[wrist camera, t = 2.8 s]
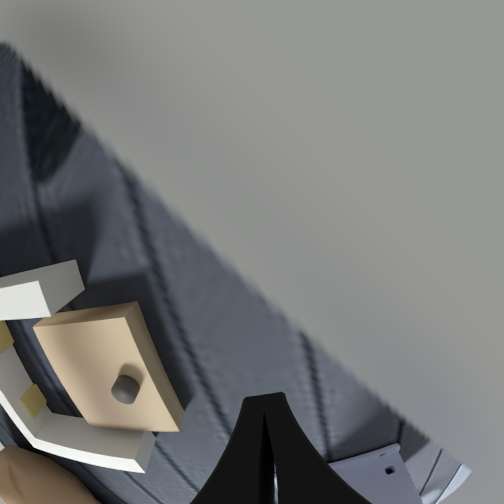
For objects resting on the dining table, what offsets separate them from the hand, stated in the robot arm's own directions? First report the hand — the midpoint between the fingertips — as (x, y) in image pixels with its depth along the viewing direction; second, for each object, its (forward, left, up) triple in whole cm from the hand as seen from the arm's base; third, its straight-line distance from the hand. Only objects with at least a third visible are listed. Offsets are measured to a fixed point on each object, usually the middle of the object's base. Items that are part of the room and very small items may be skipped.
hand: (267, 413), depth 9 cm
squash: (+23, +19, -4) cm, 30 cm away
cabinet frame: (+12, 0, -4) cm, 13 cm away
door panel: (+8, 0, -4) cm, 9 cm away
